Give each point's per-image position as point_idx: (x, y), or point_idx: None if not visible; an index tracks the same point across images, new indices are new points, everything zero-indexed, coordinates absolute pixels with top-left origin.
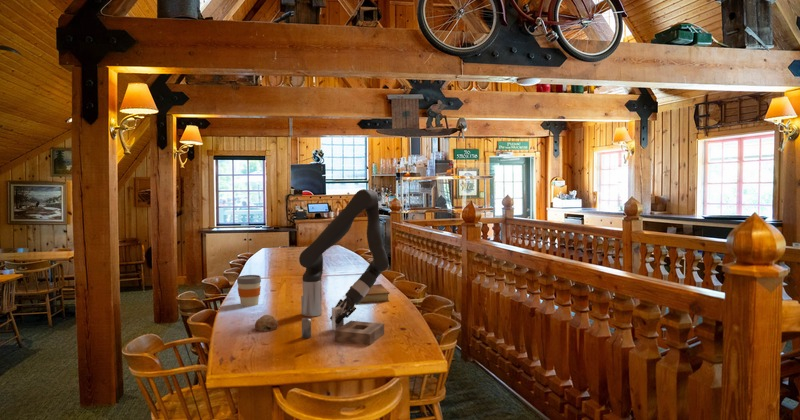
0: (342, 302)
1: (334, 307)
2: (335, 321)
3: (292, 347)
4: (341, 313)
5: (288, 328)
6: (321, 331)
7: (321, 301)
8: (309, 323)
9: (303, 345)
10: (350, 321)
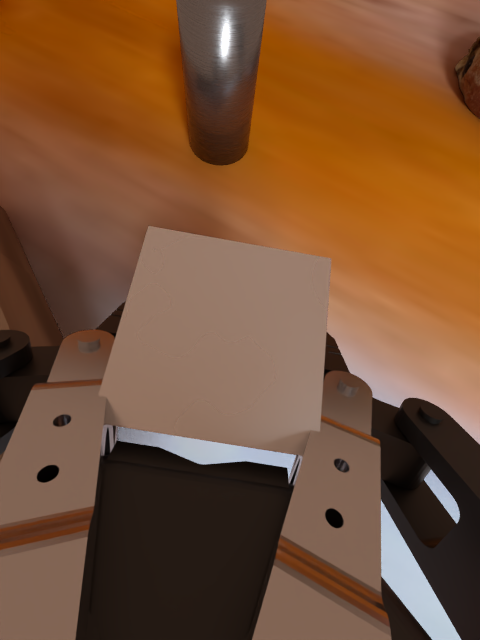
0: (316, 591)
1: (313, 308)
2: None
3: (118, 27)
4: (80, 336)
5: (453, 161)
6: None
7: None
8: (179, 27)
9: (101, 67)
10: None
